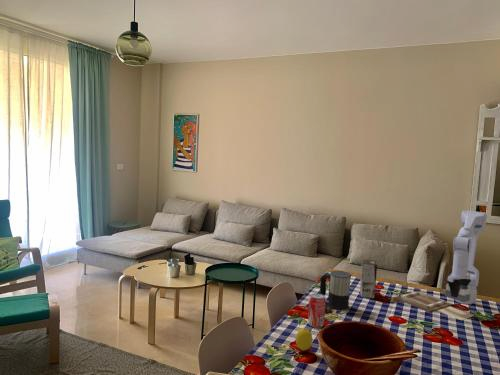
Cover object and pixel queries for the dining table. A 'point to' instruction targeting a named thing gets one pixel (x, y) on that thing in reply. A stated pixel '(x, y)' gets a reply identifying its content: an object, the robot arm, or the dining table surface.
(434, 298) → the square wooden tray
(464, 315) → the stand
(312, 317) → the soda can
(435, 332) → the dining table surface
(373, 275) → the coffee box
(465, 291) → the housing
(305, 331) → the lemon
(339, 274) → the milk frother
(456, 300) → the robot arm
